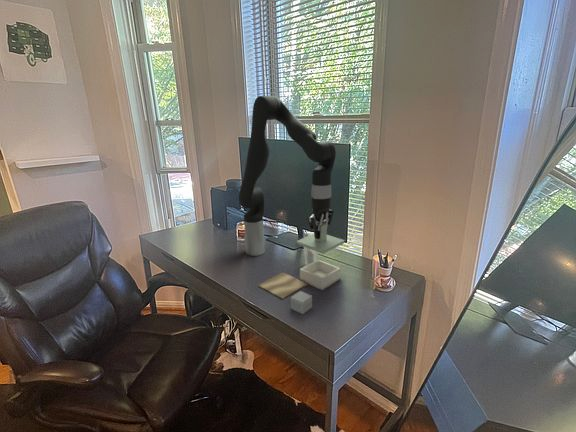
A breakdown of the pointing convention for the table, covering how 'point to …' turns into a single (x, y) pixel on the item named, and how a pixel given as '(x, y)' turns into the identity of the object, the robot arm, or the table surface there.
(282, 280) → the mat
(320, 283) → the open square box
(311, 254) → the beer glass
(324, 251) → the lid
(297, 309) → the small box
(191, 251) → the table surface
